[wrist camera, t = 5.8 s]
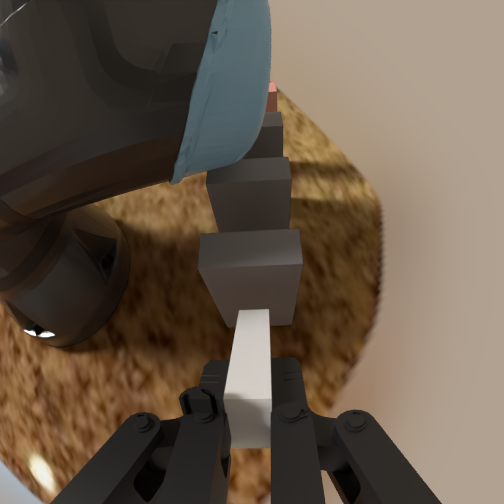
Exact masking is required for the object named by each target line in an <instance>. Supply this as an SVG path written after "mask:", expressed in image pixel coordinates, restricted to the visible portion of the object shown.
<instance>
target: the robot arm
mask: <svg viewBox="0 0 504 504" xmlns="http://www.w3.org/2000/svg"><path fill="white" fill-rule="evenodd" d="M270 68H271V18H270V8H269V4H268V0H0V302H1V304H2V305H3V306H4V308H5V309H6V310H7V311H8V313H9V314H10V315H11V317H12V318H13V319H14V320H15V322H16V323H17V324H18V325H19V326H20V328H21V329H22V330H23V331H24V332H26V333H27V334H28V335H30V336H31V337H33V338H35V339H37V340H39V341H41V342H43V343H45V344H48V345H51V346H57V347H63V346H70V345H73V344H76V343H79V342H81V341H83V340H85V339H86V338H88V337H89V336H91V335H92V334H93V333H95V332H96V331H97V330H98V329H99V328H100V327H101V326H102V325H103V324H104V323H105V322H106V321H107V319H108V318H109V317H110V315H111V314H112V312H113V311H114V309H115V308H116V306H117V304H118V302H119V300H120V298H121V296H122V294H123V291H124V289H125V286H126V282H127V278H128V273H129V266H130V255H129V247H128V243H127V240H126V238H125V236H124V234H123V232H122V231H121V229H120V228H119V227H118V225H117V224H116V222H115V221H114V220H113V218H112V217H111V216H110V215H109V214H108V213H107V212H105V211H104V210H103V209H101V208H99V207H98V206H96V205H94V204H93V203H94V202H98V201H101V200H104V199H107V198H110V197H114V196H117V195H120V194H124V193H127V192H130V191H134V190H137V189H141V188H145V187H148V186H152V185H156V184H159V183H163V182H167V181H169V184H170V185H173V184H177V183H179V182H180V181H181V180H182V179H183V178H184V177H187V176H191V175H194V174H198V173H202V172H205V171H209V170H213V169H217V168H220V167H224V166H228V165H231V164H233V163H235V162H237V161H239V160H240V159H242V158H243V156H244V155H245V154H246V153H247V152H248V151H249V150H250V149H251V147H252V145H253V144H254V142H255V140H256V139H257V137H258V135H259V132H260V129H261V126H262V123H263V119H264V115H265V110H266V104H267V98H268V91H269V83H270ZM179 401H180V404H181V408H182V411H183V414H184V415H183V416H182V417H179V418H176V419H171V420H163V421H160V420H159V418H158V417H157V416H156V415H154V414H152V413H147V412H142V413H136V414H134V415H131V416H130V417H129V418H128V419H126V420H125V422H124V423H123V424H122V425H121V426H120V427H119V428H118V429H117V431H116V432H115V433H114V434H113V435H112V436H111V437H110V438H109V440H108V441H107V442H106V443H105V444H104V445H103V446H102V447H101V448H100V450H99V451H98V452H97V453H96V454H95V455H94V456H93V457H92V458H91V460H90V461H89V462H88V463H87V464H86V465H85V466H84V467H83V468H82V469H81V471H80V472H79V473H78V474H77V475H76V476H75V477H74V478H73V479H72V480H71V481H70V483H69V484H68V485H67V486H66V487H65V488H64V489H63V490H62V491H61V492H60V493H59V494H58V496H57V497H56V498H55V499H54V500H53V501H52V502H51V503H50V504H226V501H227V492H228V484H229V475H230V466H231V455H230V446H231V445H232V448H271V504H325V497H324V490H323V483H322V477H321V470H325V471H327V473H328V475H329V477H330V479H331V481H332V483H333V484H334V486H335V488H336V490H337V492H338V494H339V496H340V498H341V500H342V501H343V503H344V504H442V503H441V502H440V501H439V500H438V498H437V497H436V496H435V495H434V493H433V492H432V491H431V490H430V488H429V487H428V486H427V484H426V483H425V482H424V481H423V479H422V478H421V477H420V476H419V475H418V473H417V472H416V471H415V469H414V468H413V467H412V466H411V464H410V463H409V462H408V460H407V459H406V458H405V457H404V455H403V454H402V453H401V452H400V450H399V449H398V448H397V447H396V445H395V444H394V443H393V441H392V440H391V439H390V438H389V436H388V435H387V434H386V433H385V431H384V430H383V429H382V427H381V426H380V425H379V424H378V423H377V421H376V420H375V419H374V417H373V416H372V415H370V414H369V413H367V412H364V411H362V410H350V411H346V412H344V413H342V414H340V415H339V416H338V417H337V418H328V417H323V416H320V415H317V414H315V413H314V412H312V411H311V410H310V408H309V407H308V404H307V400H306V394H305V388H304V382H303V376H302V371H301V365H300V363H299V362H298V361H297V360H296V358H295V357H284V358H271V353H270V326H269V309H260V310H239V313H238V319H237V325H236V330H235V336H234V341H233V347H232V352H231V358H230V360H210V361H209V362H208V363H207V364H206V365H205V367H204V369H203V373H202V376H201V379H200V383H199V386H197V387H192V388H189V389H187V390H185V391H184V392H182V393H181V395H180V396H179Z"/></svg>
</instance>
